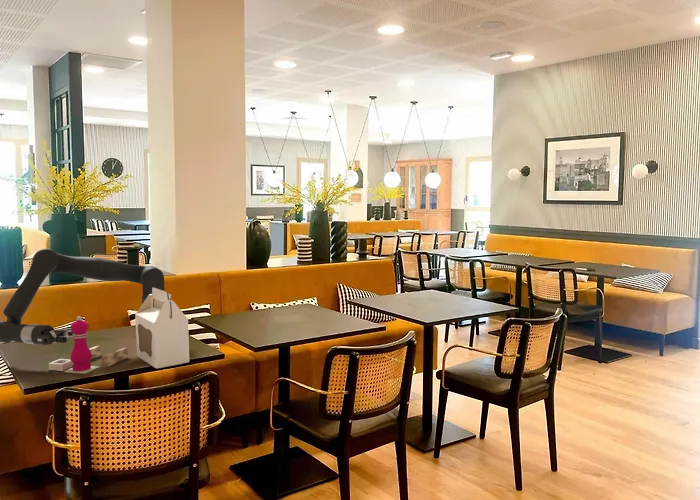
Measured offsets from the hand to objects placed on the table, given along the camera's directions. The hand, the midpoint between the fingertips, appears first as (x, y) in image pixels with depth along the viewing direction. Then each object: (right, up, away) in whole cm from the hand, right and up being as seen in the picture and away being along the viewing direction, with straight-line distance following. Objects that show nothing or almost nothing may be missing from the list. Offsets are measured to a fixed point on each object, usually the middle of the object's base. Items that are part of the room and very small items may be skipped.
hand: (74, 336), depth 214 cm
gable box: (+28, -11, +14) cm, 34 cm away
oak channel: (+5, -11, +11) cm, 17 cm away
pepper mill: (+2, -12, +1) cm, 13 cm away
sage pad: (+3, -12, +1) cm, 13 cm away
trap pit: (-6, -12, +3) cm, 14 cm away
